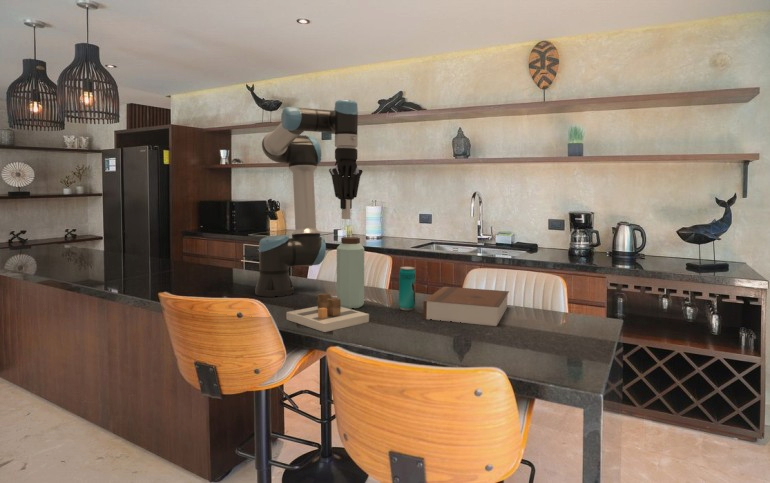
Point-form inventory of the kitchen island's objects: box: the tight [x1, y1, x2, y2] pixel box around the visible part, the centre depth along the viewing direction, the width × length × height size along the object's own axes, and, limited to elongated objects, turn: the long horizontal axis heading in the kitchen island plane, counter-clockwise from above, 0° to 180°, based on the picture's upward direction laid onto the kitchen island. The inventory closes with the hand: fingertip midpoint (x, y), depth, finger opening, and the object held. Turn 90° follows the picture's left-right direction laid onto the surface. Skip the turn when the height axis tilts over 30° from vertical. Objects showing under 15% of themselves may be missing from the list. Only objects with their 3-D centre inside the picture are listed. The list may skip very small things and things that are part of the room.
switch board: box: [286, 305, 370, 333], centre depth 165 cm, size 20×18×6 cm
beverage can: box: [398, 266, 417, 312], centre depth 182 cm, size 6×6×15 cm
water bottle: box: [336, 236, 365, 310], centre depth 185 cm, size 10×10×25 cm
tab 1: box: [317, 292, 331, 308], centre depth 169 cm, size 3×3×5 cm
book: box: [422, 286, 510, 327], centre depth 178 cm, size 24×28×6 cm
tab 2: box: [327, 297, 341, 316], centre depth 162 cm, size 3×3×5 cm
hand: (346, 218), depth 173 cm, fingers closed
